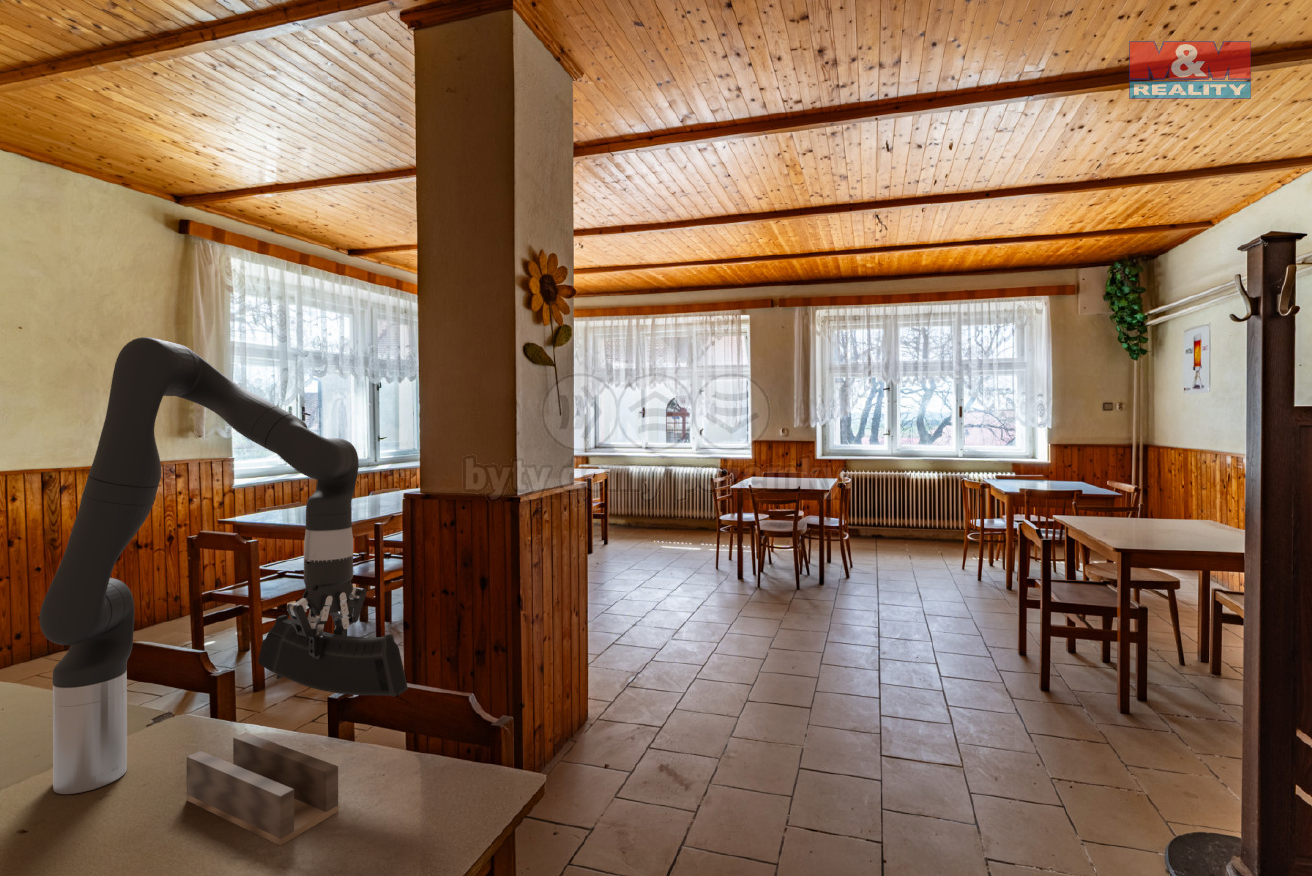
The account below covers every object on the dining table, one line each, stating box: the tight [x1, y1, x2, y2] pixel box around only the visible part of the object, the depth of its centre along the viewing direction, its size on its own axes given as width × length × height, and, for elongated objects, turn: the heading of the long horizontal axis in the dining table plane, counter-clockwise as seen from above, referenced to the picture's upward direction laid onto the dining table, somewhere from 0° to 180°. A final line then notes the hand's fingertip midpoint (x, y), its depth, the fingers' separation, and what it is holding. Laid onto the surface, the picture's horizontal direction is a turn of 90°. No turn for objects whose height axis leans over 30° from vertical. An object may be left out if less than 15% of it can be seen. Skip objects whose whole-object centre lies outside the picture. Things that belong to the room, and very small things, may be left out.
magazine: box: [257, 614, 409, 697], centre depth 107 cm, size 17×3×30 cm
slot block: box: [186, 732, 339, 847], centre depth 98 cm, size 24×9×7 cm, turn 63°
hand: (328, 653), depth 108 cm, fingers closed on magazine, 3 cm apart
